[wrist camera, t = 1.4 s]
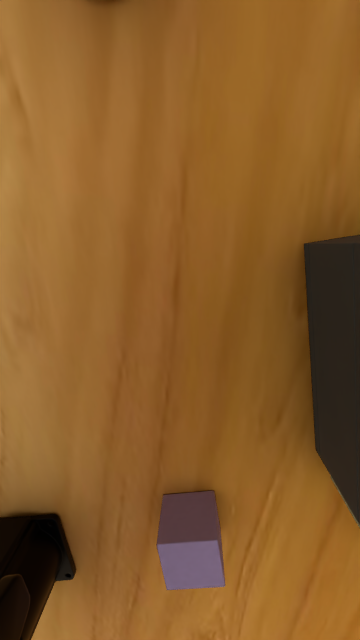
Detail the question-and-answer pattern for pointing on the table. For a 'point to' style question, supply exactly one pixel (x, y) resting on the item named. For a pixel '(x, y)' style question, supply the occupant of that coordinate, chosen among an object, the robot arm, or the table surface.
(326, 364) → the cabinet
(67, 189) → the table surface
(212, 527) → the block
